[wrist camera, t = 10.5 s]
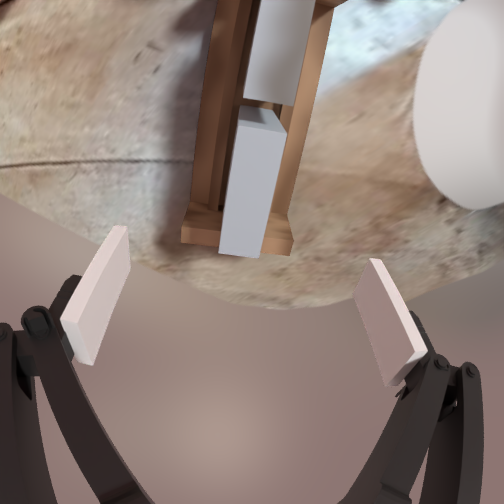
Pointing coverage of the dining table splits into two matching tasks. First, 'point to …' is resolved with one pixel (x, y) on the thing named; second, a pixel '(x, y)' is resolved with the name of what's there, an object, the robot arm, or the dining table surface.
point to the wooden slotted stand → (256, 103)
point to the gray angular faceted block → (251, 181)
